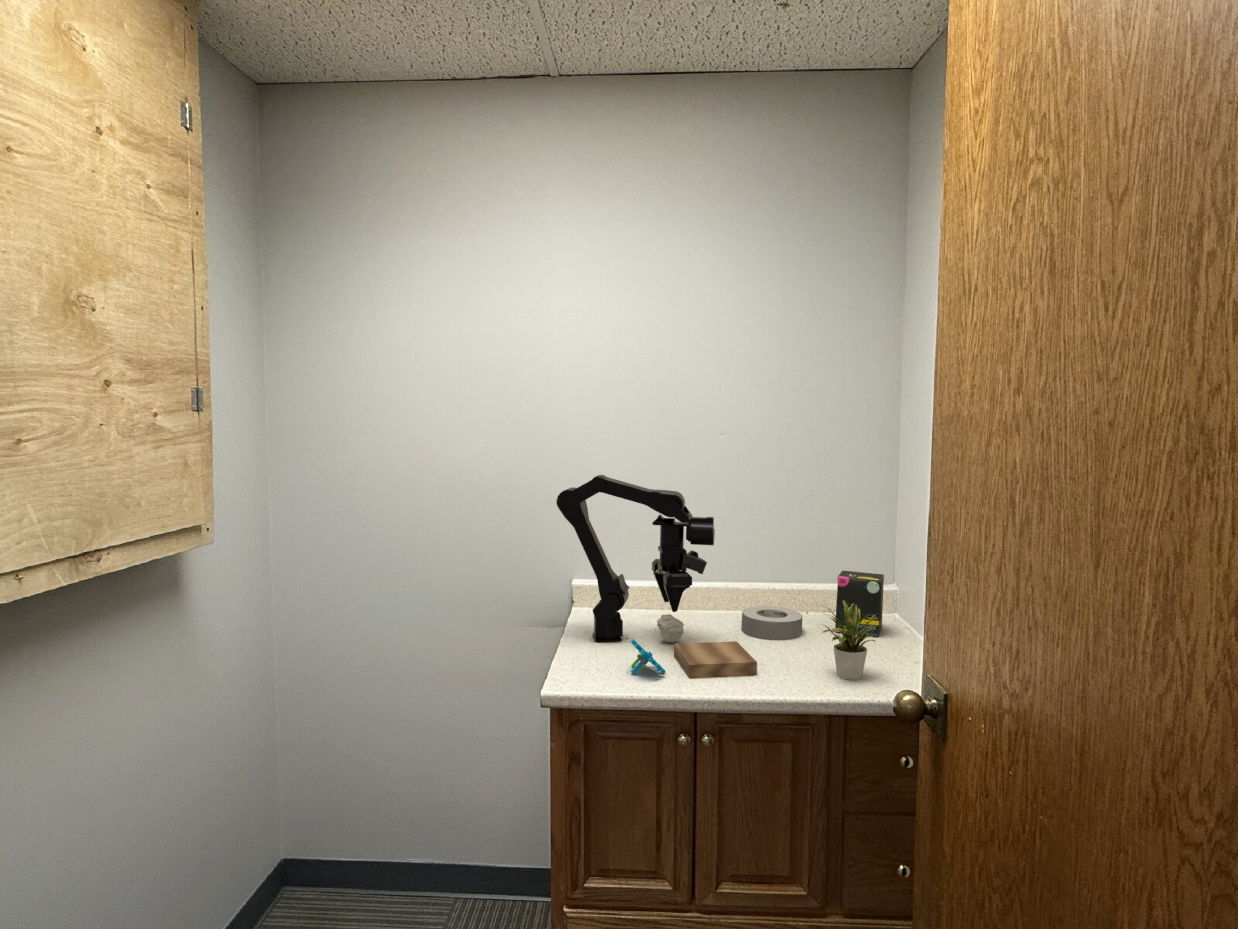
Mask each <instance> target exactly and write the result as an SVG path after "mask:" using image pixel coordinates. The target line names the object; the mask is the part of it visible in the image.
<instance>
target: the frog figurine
mask: <svg viewBox="0 0 1238 929" xmlns="http://www.w3.org/2000/svg"><path fill="white" fill-rule="evenodd" d="M656 623H657V625H656V626H657V627H658V629H659V631H660V632H661V637H662V640H664V641H665V642H666V643H667V642H668V644H669V643H670V644H675V643H677V642H678V641H680V639H681V638H682V635H683V633H684V629H685V628H684V626H685V624H684V622H683V621H681V620H680V619H678V618H677V617H675V616H673V615H672V614H671V613H670V614H668V613H667V614H662V615H661V616H660V618H658V620H656Z"/></svg>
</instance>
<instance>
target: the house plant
mask: <svg viewBox="0 0 1238 929" xmlns="http://www.w3.org/2000/svg"><path fill="white" fill-rule="evenodd" d="M843 604H844V615H845V623H846V626H842V624H841V623H840V622H839V620H838V619H837V617H836V613H834V612H833V611H832V610H831V609H830V608H829V607H827V606H824V605H821V604H819V606H820V607H824V608H826V609H827V610H826V611H828V612H829V613H830V614H832V615H829V614H828V616H829V617H830V619H831V620H832V621H833V622H834V623H836V625H837V626H838V628H839V629H835V628H832V629H831V628H830V627H828V626H827V625H825V624H822V623H820V624H819V625H822V626H824V627H825V628H827V629H824V630H823V631H822V632H821V634H823V633H826V632H827V633H828V632H830V635H833V637H832V639H831V642H833V641H836V640H838V641H839V642H838V643H835V644H834V645H833V653H834V661H835V669H836V675H838V676H839V678H841V679H843V678H844V680H847V679H848V680H847V681H858V680H861V679H862V678H863V673H864V668H865V664H866V658H867V654H868V648H867V647H866V646H864V644H866V643H868V642H870V641H871V642H876V640H875V639H869V640H865V639H866V638H868V637H869V636H868V635H866V634H864V633H865V632H867V631H869V630H871V629H873V628H870V629H867V630H865V631H864V629H865V628H866V627H867V625H868V624H869V623H870V622H871V621H872V620H871V619H872V618H873V617H874V616H875V615H876V614H875V615H874V616H873V617H872V618H871V619H870V620H871V621H870V620H869V621H868V622H867V623H866V624H865V625H864V627H863V628H862V629H861V631H860V632H859V634H858V635H856V634H857V631H858V627H859V622H860V617H861V614H860V609H858V613H857V605H858V604H857V605H855V608H854V610H853V605H854V603H853V604H852V605H851V606H850V609H849V610H848V606H847V604H846V603H845V601H843ZM852 610H853V613H852ZM821 615H823V616H824V615H825V616H827V614H825V613H822V614H821ZM853 619H854V621H853ZM876 619H877V618H876ZM873 620H874V619H873ZM836 621H837V622H838V623H839V624H838V623H837V622H836ZM839 625H840V626H839ZM840 627H841V628H840ZM836 631H840V632H841V633H838V632H836ZM863 631H864V632H863ZM835 633H836V634H835ZM861 633H862V634H861ZM840 634H841V635H840ZM863 634H864V635H863ZM864 640H865V641H864ZM838 676H837V677H838Z"/></svg>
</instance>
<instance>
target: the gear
mask: <svg viewBox="0 0 1238 929" xmlns="http://www.w3.org/2000/svg"><path fill="white" fill-rule="evenodd" d="M630 643H631V645H633V646H634V648H635V649H636V650H638V652H637V653H638V654H637V656H636V659H635V660H634V661H633V663H631V664H630V666H631V667H632V670H631V671H630V673H631V674H632V675H636V673H638V671H640V669H641V668H642V667H643V666H646V665H647V664H648V663H650V664H651V665H653V666H654V668H656V670H658V671H659V672H660V673H661V674H662V675H664V674H665V673H666V669H664V668H663V667H662V665H661V664H660V663H658V661H656V659H655V658H654V657H653V655H654V654H653V653H652V652H651V651H647V650H645V648H644V647H642V646H641V645H640V644H639V643H638V642H637V641H636V640H635V639H634V638H633V639H632V640H631V641H630Z"/></svg>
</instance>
